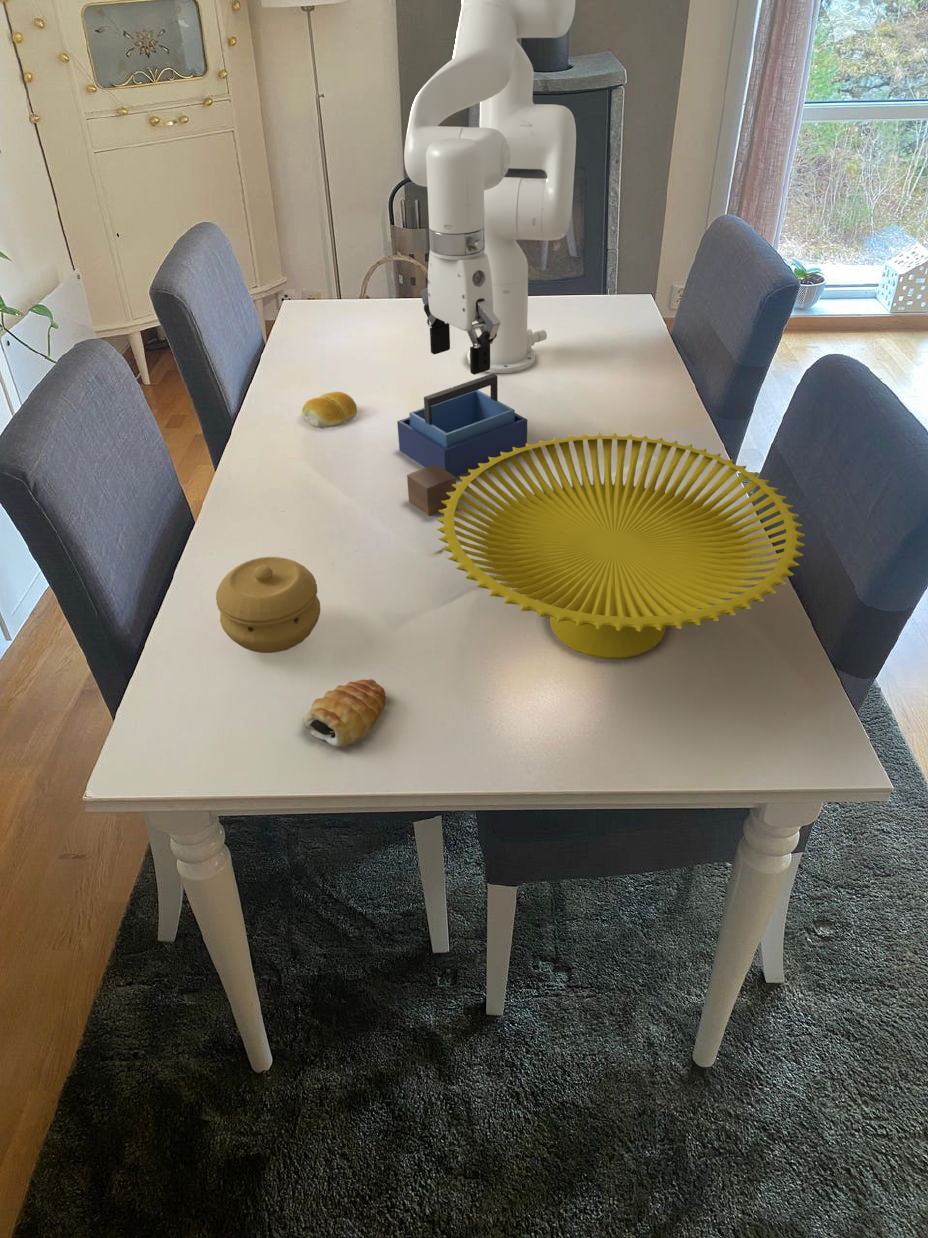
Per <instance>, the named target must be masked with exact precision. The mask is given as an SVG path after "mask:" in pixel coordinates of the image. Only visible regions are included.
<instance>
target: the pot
mask: <svg viewBox="0 0 928 1238" xmlns="http://www.w3.org/2000/svg"><path fill="white" fill-rule="evenodd" d="M215 593H216V594H215V600H216V606H217V609H218V611H219V612H220V616H219V622H220V625H221V628H222V630H223V632H224V633H225V634H226V635H227V637H228V638H230V640H231V641H233V642H234V643H236V644H237V645H239V646H240V647H242V648H243V649H245V650H248V651H250V652H254V653H259V654H275V653H280V652H284V651H287V650H291V649H292V648H295V647H296V646H298V645H300V644H301V643H303V642H304V641H305V640H306V639H307V638H308V637H309V636H310V635H311V633H312V632H313V630H314V628H315V627H316V625H317V623H318V621H319V618H320V614H321V601H320V598H319V597H318V584H317V580H316V578H315V576H314V574H313V573H312V572H311V571H310V570H309V569H308V568H307V567H305V566H304V565H302V564H301V563H299V562H297V561H296V560H292V559H290V558H286V557H282V556H281V557H280V556H263V557H257V558H254V559H250V560H247V561H245V562H243V563H240V564H238V565H237V566H235V567H234V568H232V569H231V570H230V571H229V572H228V573H227V574H226V575H225V576H224V577H223V579H221V582H220V583H219V585H218V587H217V589H216V592H215Z"/></svg>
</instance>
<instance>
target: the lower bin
mask: <svg viewBox="0 0 928 1238" xmlns="http://www.w3.org/2000/svg"><path fill="white" fill-rule="evenodd" d="M396 425H397V435H398V449H399V452H401V453H402V454H404V455H405V456H406V457H409V458H410V459H412V461H415V462H416V463H417V464H419V465H421V466H422V467H424V468H426V467H429V466H431V465H434V464H436V465H438V466H439V467H441V468H443V469H444V470H446V471H447V472H449V473H450V474H452V475H453V476H455V477H456V478H457V477H461V476H463V475H464V474H468V473H470V472H469V471H468V469H470V470H475V469H478V468H480V466H479V465H478V463H488V462H490V460H489V458H488V457H494V458H496V457H499V456H501V454H500V452H505V453H508V452H512V451H513V447H515V448H522V447H526V443H527V444H528V419H527V418H526V417H524V416H522V415H520V414H518V413H517V412H515V422H514V423H511V424H508V425H506V426H503V427H501V428H498V429H495V430H493V431H490V432H487V433H485V434H482V435H479V436H477V437H474V438H472V439H469V440H466V441H464V442H461V443H458V444H456V445H453V446H450V447H448V448H444V447H442V446H441V445H439V444H438V443H436V442H434V441H433V440H431V439H430V438H428V437H426V436H425V435H423V434H422V433H420V432H418V431H417V430H415V429H414V428H412V427H410V416H407V417H405V418H402V419H400V420H397V424H396Z"/></svg>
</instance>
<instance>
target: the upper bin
mask: <svg viewBox="0 0 928 1238" xmlns="http://www.w3.org/2000/svg"><path fill="white" fill-rule="evenodd" d="M489 386H490V395H488V394H486V393H485V392H482V391H481V389H484V388H487V387H489ZM498 391H499V390H498V375H497V374H496V373H492V372H491V373H489V374H486V375H484V376H481V377H477V378H475V379H472V380H470V381H469V380H468V381H467V382H463V383H460V384H458V385H455V386H452V387H449V388H446V389H443V390H440V391H437V392H433V393H432V394H428V395H425V396H423V404H424V405H423V407H421V408H418V409H416V410H413V411H409V417H410V427H412V428H414V429H415V430H417V431H418V432H420V433H422V434H423V435H425V436H426V437H428V438H430V439H431V440H433V441H434V442H436V443H438V444H439V445H441V446H442V447H444V448H448V447H450V446H453V445H456V444H458V443H461V442H464V441H466V440H469V439H472V438H474V437H477V436H479V435H482V434H485V433H487V432H490V431H493V430H495V429H498V428H501V427H503V426H506V425H508V424H511V423H514V422H515V413H516V410H515V409H514V408H512V407H511V406H508V405H507V404H505V403H503V402H501V401H499V399H498Z"/></svg>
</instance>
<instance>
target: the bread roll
mask: <svg viewBox="0 0 928 1238" xmlns="http://www.w3.org/2000/svg"><path fill="white" fill-rule="evenodd" d="M357 412H358V406H357V404H356V402H355V400H354V399H353V398H352V396H350V395H349V394H348V393H345V392H342V391H332V392H327V393H324V394H321V395H319V396H318V397H314V398H311V399H308V400H307V401H306V402H305V403H304V404H303V406H302V410H301V415H302V419H303V421H304V422H305V423H307V424H308V425H310V426H313V427H315V428H319V429H325V428H326V429H328V428H333V427H335V426H339V425H342V424H344V423H345V422H346V423H347V422H350V421H352V420H353V419H354V418H356V416H357Z"/></svg>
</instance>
